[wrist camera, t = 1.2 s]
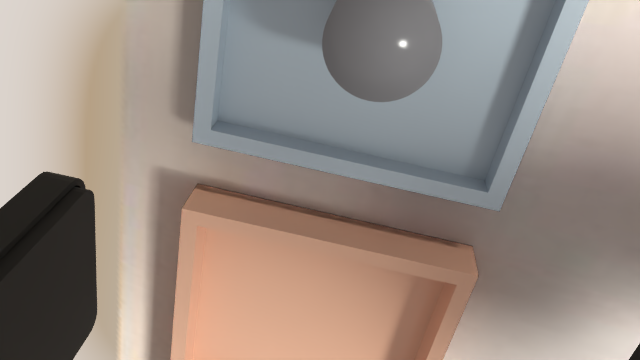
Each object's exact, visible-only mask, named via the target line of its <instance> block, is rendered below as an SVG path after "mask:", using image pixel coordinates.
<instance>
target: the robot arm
mask: <svg viewBox="0 0 640 360" xmlns="http://www.w3.org/2000/svg"><path fill="white" fill-rule="evenodd" d="M94 204H95V203H94V194H93V192H92V191H91V190H87V189H85V185H84V182H83V181H82V180H81V179H79V178H74V177H69V176H65V175H60V174H55V173H51V172H43V173H41V174H40V175H38V176H37V177H36V178H35V179H34V180H32V181H31V182H30V183H29V184H28V185H27V186H26V187H25V188H23V189H22V190H21V191H20V192H19V193H17V194H16V195H15V196H14V197H13V198H12V199H11V200H9V201H8V202H7V203H6V204H5V205H4V206H3V207H1V208H0V360H73V358H74V357H75V355H76V353H77V352H78V351H79V349H80V348H81V346H82V345H83V343H84V341H85V340H86V338H87V337H88V335H89V334H90V332H91V330H92V328H93V326H94V323H95V320H96V315H97V291H96V290H97V287H96V245H95V205H94ZM629 360H640V344H639V345H638V347H637V348H636V350H635V351H634V353H633V354H632V356H631V357H630V359H629Z"/></svg>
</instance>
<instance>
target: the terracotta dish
mask: <svg viewBox="0 0 640 360" xmlns="http://www.w3.org/2000/svg"><path fill="white" fill-rule="evenodd" d="M478 277H479V275H478V270H477V265H476V260H475V256H474V251H473V246H469V245H465V244H460V243H456V242H452V241H447V240H443V239H438V238H434V237H430V236H425V235H421V234H416V233H412V232H407V231H403V230H399V229H394V228H390V227H385V226H381V225H377V224H372V223H368V222H363V221H359V220H355V219H350V218H346V217H341V216H337V215H333V214H328V213H324V212H319V211H315V210H311V209H306V208H302V207H297V206H293V205H289V204H284V203H280V202H275V201H271V200H267V199H262V198H258V197H253V196H249V195H245V194H240V193H236V192H231V191H227V190H223V189H218V188H214V187H209V186H205V185H201V184H197V186H196V187H195V189H194V190H193V192H192V193H191V195H190V196H189V198H188V200H187V201H186V203H185V204H184V206H183V207H182V213H181V226H180V239H179V253H178V266H177V279H176V292H175V305H174V319H173V332H172V345H171V358H170V360H443V358H444V355H445V353H446V351H447V348H448V346H449V344H450V342H451V339H452V337H453V335H454V332H455V330H456V328H457V325H458V323H459V321H460V318H461V316H462V314H463V311H464V309H465V307H466V304H467V302H468V300H469V297H470V295H471V293H472V291H473V288H474V286H475V284H476V281H477V279H478Z"/></svg>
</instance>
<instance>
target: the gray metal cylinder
mask: <svg viewBox="0 0 640 360" xmlns="http://www.w3.org/2000/svg"><path fill="white" fill-rule="evenodd" d="M322 51H323V57H324V60H325V64H326V66H327V69H328V71H329V72H330V74H331V76H332V77H333V79H334V80H335V81H336V82H337V83H338V84H339V85H340V86H341V87H342V88H343V89H344V90H345V91H347V92H348V93H350V94H352V95H353V96H355V97H358V98H360V99H363V100H367V101H372V102H390V101H395V100H399V99H402V98H405V97H407V96H409V95H411V94H412V93H414V92H416V91H417V90H418V89H420V88H421V87H422V86H423V85H424V84H425V83H426V82H427V81H428V80H429V79H430V77H431V76H432V74H433V73H434V71H435V69H436V67H437V65H438V62H439V60H440V56H441V52H442V32H441V27H440V23H439V20H438V16H437V13H436V9H435V6H434V2H433V0H336V2H335V4H334V6H333V9H332V11H331V13H330V15H329V17H328V19H327V22H326V24H325V28H324V31H323V38H322Z"/></svg>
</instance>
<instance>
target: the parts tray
mask: <svg viewBox="0 0 640 360" xmlns="http://www.w3.org/2000/svg"><path fill="white" fill-rule="evenodd" d="M588 1H589V0H433V2H434V6H435V9H436V13H437V16H438V20H439V23H440V27H441V32H442V52H441V56H440V60H439V62H438V65H437V67H436V69H435V71H434V73H433V74H432V76H431V77H430V79H429V80H428V81H427V82H426V83H425V84H424V85H423V86H422V87H421V88H420V89H418V90H417V91H416V92H414V93H412V94H411V95H409V96H407V97H405V98H402V99H399V100H395V101H390V102H372V101H367V100H363V99H360V98H358V97H355V96H353V95H352V94H350V93H348V92H347V91H345V90H344V89H343V88H342V87H341V86H340V85H339V84H338V83H337V82H336V81H335V80H334V79H333V77H332V76H331V74H330V72H329V71H328V69H327V66H326V64H325V60H324V57H323V51H322V38H323V31H324V28H325V24H326V22H327V19H328V17H329V15H330V13H331V11H332V9H333V6H334V4H335V2H336V0H203V12H202V25H201V37H200V49H199V62H198V74H197V87H196V99H195V111H194V124H193V136H192V142H195V143H199V144H203V145H208V146H212V147H217V148H221V149H226V150H230V151H234V152H239V153H243V154H248V155H252V156H257V157H261V158H265V159H270V160H274V161H279V162H283V163H287V164H292V165H296V166H301V167H305V168H310V169H314V170H318V171H323V172H327V173H332V174H336V175H340V176H345V177H349V178H354V179H358V180H363V181H367V182H371V183H376V184H380V185H385V186H389V187H394V188H398V189H402V190H407V191H411V192H416V193H420V194H424V195H429V196H433V197H438V198H442V199H447V200H451V201H455V202H460V203H464V204H469V205H473V206H478V207H482V208H486V209H491V210H495V211H500V209H501V207H502V204H503V202H504V200H505V197H506V195H507V193H508V190H509V188H510V186H511V183H512V181H513V178H514V176H515V174H516V171H517V169H518V167H519V164H520V162H521V160H522V157H523V155H524V152H525V150H526V148H527V145H528V143H529V141H530V138H531V136H532V134H533V131H534V129H535V127H536V124H537V122H538V119H539V117H540V115H541V112H542V110H543V108H544V105H545V103H546V101H547V98H548V96H549V93H550V91H551V89H552V86H553V84H554V82H555V79H556V77H557V75H558V72H559V70H560V67H561V65H562V63H563V60H564V58H565V56H566V53H567V51H568V49H569V46H570V44H571V42H572V39H573V37H574V34H575V32H576V30H577V27H578V25H579V23H580V20H581V18H582V16H583V13H584V11H585V8H586V6H587V4H588Z"/></svg>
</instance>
